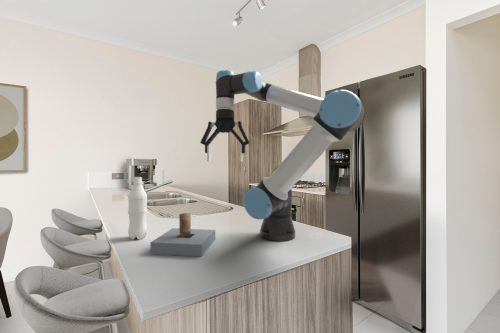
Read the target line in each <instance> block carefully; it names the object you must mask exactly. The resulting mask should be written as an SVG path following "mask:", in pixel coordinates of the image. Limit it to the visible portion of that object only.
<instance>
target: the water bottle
mask: <svg viewBox="0 0 500 333" xmlns="http://www.w3.org/2000/svg"><path fill="white" fill-rule="evenodd" d="M142 179H143V177H141V176H135V177H133V182H132V183H133V186H132V188H131V191H130V192H129V194H128V197H127V200H128V210H127V214H128V218H129V220H128V221H129V223H128V224H129V225H128V229H127V230H128V231H127V232H128V236H129V238H130V240H131V241H132V240H135V239H136V238H137V240H142V239H143V238H146V237H147V234H148V225H147V215H148V194H147V192H146V190H145V189H144V186H143V181H142Z"/></svg>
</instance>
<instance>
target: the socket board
mask: <svg viewBox="0 0 500 333" xmlns="http://www.w3.org/2000/svg"><path fill="white" fill-rule="evenodd" d="M215 241H216V229H204V228H203V229H199V228H191V238H180V229H179V228H178V227H177V228H176V227H172V228H171V229H169V230H168V231H166V232H164V233H163V234H161V235H160V236H158V237H157V238H155V239H153V240H151V241H150V255H161V254H163V255H164V256H165V255H166V256H181V257H182V256H185V257H200V258H201V257H203V255H205V253H206V252H207V251H208V249H209V248H210V247H211V246H212V244H213V243H215ZM163 255H162V256H163Z"/></svg>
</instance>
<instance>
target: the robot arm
mask: <svg viewBox="0 0 500 333" xmlns="http://www.w3.org/2000/svg"><path fill="white" fill-rule="evenodd" d="M215 77H216V79H215V96H216V98H215V109H216V110H215V121H213V122H212V121H208V122H207V128H206V129H205V131H204V134H203V136H202V139H201V140H200V144H201V145H203V146H204V153H205V154H207V155H206V156H207V159H206V161H207V162H211V161H212V160H211V159H212V153H211V152H212V145H211V143H212V142H213V141H214V139H215V138H216V137H217V136H218V135H219V134H220V133H222V134H223V133H224V134H226V133H227V134H228V133H231V134H232V135H233V136H234V137H235V138H236V139H237V140H238V142H239V143H240V145H239V162H243V154H245V153H246V146H247V145H250V144H251V143H250V140H249V138H248V136H247V134H246V132H245V130H244V128H243V123H242V122H241V120H239V121H236V122H235V111H234V110H235V95H240V94H241V95H242V94H245V95H248V96H250V97H252V98H255V99H257V100H258V101H261V102H265V103H269V104H272V105H275V106H278V107H281V108H285V109H288V110H291V111H293V112H296V113H297V112H298V113H300V114H304V115H307V116H309V117H312V126H311V127H310V128H309V130H308V131H307V132H306V133H305V134H304V136H303V137H302V138H301V139H300V140H299V142H298V143H297V144H296V145H295V146H294V148H293V149H291V151H290V152H289V153H288V155H286V157H285V158H284V160H283V161H281V163H280V164H279V165H278V166H277V168H275V170H274V171H273V172H272V174H271V175H270V176H265V177H263V178H262V179H261V181H260V182H259V183H258V184H257V185H256V186H255V187H252V188H250V189H248V190H247V191H246V193H245V194H244V197H243V206H244V210H245V211H246V213H247V214H248V215H249V216H250V218H252V219H255V220H262V223H261V226H260V229H259V236H260V237H261V238H263V239H265V240H269V241H275V242H276V241H279V242H283V241H285V242H286V241H290V240H293V239H295V238H296V229H295V225H294V222H293V219H292V210H293V209H292V206H293V205H292V203H293V202H292V200H293V197H292V196H293V189H292V188H293V187H294V186H295V185H296V183H298V181H299V180H300V179H301V178H302V177H303V176H304V175H305V173H307V171H308V170H309V169H310V168H311V167H312V166H313V165H314V164H315V163H316V161H317V160H318V159H319V158H320V157H321V156H322V155H323V153H324V152H325V151H326V150H327V149H328V148H329V147H331V145H332V144H333V143H335V142H341V141H342V140H343V139H344V137H346V135H347V134H348V133H351V132H353V131H356V130H358V129H359V128H360V127H361V126H362V124H363V123H364V121H365V118H366V108H365V107H364V104H363V103H362V100H361V99H360V97H358V95H356V94H355V93H353V92H352V91H350V90H347V89H338V90H334V91H332V92H330V93H328V94H327V95H326V96H324V98H321V97H319V96H315V95H311V94H308V93H304V92H300V91H296V90H293V89H290V88H286V87H283V86H279V85H275V84H272V83H268V82H265V81H263V77H262V75H261V74H260V72H258V71H257V70H254V71H247V72H241V73H237V74H235V73H234V72H233V71H232V70H229V69H227V70H223V69H221V70H219V71H218V72H217V73H216V76H215ZM214 126H215V127H214ZM235 126H236V127H237V128H238V129H239V131H240V133H241V135H242V137H243V139H242V138H241V137H240V135H238V133H237V131H236V130H234V128H235ZM213 128H216V129H215V130H214V131H213V133H212V134H211V131H212V129H213ZM210 134H211V135H210Z"/></svg>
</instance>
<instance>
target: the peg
mask: <svg viewBox="0 0 500 333" xmlns="http://www.w3.org/2000/svg"><path fill="white" fill-rule="evenodd" d="M191 215H192V214H191V213H187V212H184V213H183V212H182V213H179V222H178V223H179V229H180V238H191V229H192V228H191V223H192V222H191V220H192V219H191Z"/></svg>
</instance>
